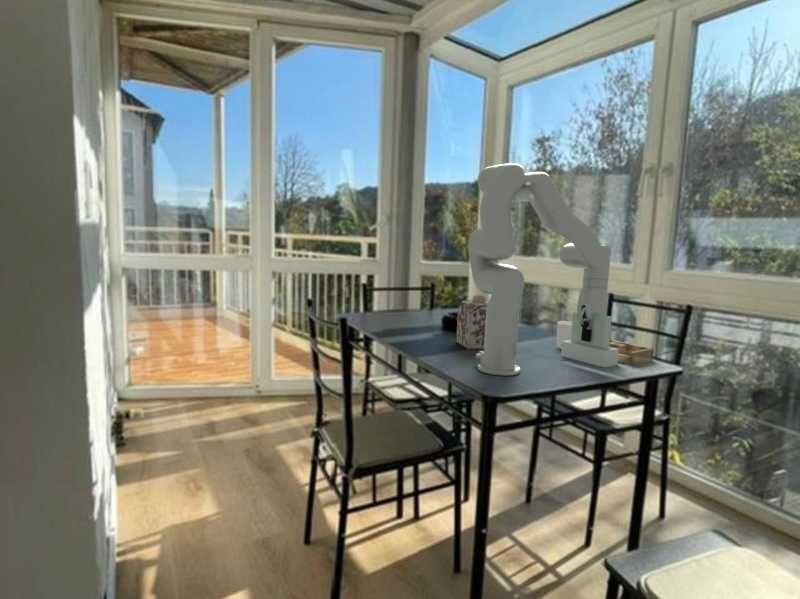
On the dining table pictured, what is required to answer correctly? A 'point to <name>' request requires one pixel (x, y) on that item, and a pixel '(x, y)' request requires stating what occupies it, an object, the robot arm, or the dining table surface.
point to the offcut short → (618, 346)
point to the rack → (635, 354)
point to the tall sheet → (593, 332)
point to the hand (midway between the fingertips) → (590, 339)
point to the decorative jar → (472, 322)
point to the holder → (590, 354)
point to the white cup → (563, 332)
